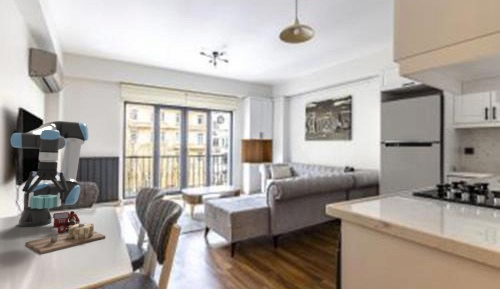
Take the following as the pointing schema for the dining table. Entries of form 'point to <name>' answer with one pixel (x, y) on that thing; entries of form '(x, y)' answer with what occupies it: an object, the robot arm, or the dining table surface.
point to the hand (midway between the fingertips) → (44, 206)
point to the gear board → (66, 238)
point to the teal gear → (44, 201)
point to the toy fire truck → (64, 220)
